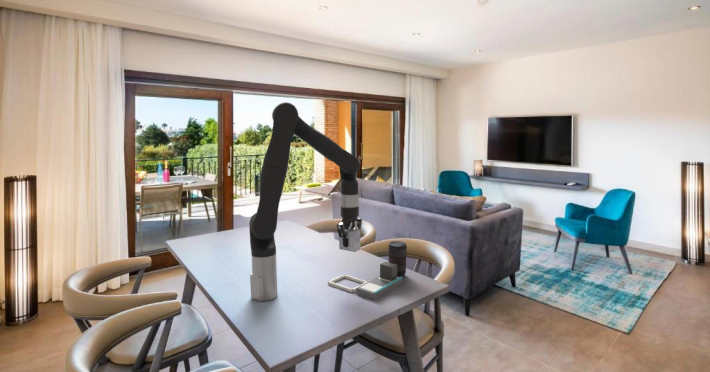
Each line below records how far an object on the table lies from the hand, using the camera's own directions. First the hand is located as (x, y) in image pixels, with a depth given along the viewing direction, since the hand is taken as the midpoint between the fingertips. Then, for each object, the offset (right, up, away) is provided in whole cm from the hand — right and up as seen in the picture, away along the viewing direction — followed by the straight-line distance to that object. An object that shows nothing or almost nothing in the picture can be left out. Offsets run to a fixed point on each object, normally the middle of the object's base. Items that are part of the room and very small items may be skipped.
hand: (349, 245), depth 151 cm
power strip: (+13, -18, -1) cm, 22 cm away
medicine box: (0, -2, 0) cm, 2 cm away
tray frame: (-1, -17, +3) cm, 17 cm away
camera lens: (+21, -16, +12) cm, 29 cm away
